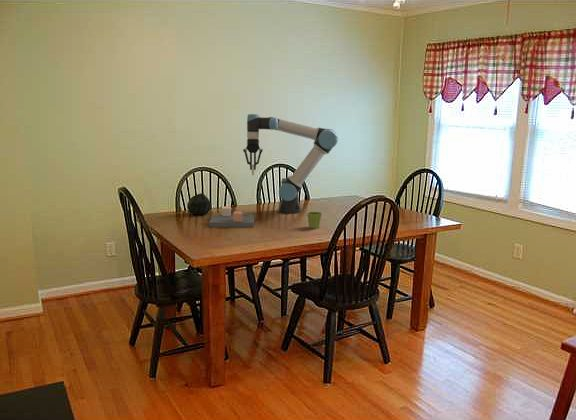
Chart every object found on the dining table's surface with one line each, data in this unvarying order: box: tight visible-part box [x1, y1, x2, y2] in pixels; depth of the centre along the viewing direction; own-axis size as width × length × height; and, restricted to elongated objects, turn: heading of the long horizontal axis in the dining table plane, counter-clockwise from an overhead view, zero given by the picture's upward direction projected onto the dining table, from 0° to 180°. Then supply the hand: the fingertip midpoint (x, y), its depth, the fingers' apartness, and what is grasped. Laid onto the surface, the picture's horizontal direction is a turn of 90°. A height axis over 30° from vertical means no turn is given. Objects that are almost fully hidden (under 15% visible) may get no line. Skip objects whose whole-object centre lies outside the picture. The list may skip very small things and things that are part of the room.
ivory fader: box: [221, 206, 232, 216], centre depth 314 cm, size 5×6×5 cm
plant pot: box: [306, 211, 323, 229], centre depth 300 cm, size 9×9×9 cm
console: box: [208, 213, 255, 229], centre depth 308 cm, size 26×24×3 cm
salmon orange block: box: [233, 210, 243, 222], centre depth 300 cm, size 5×6×5 cm
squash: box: [186, 192, 211, 216], centre depth 330 cm, size 14×15×15 cm
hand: (252, 174), depth 329 cm, fingers closed
